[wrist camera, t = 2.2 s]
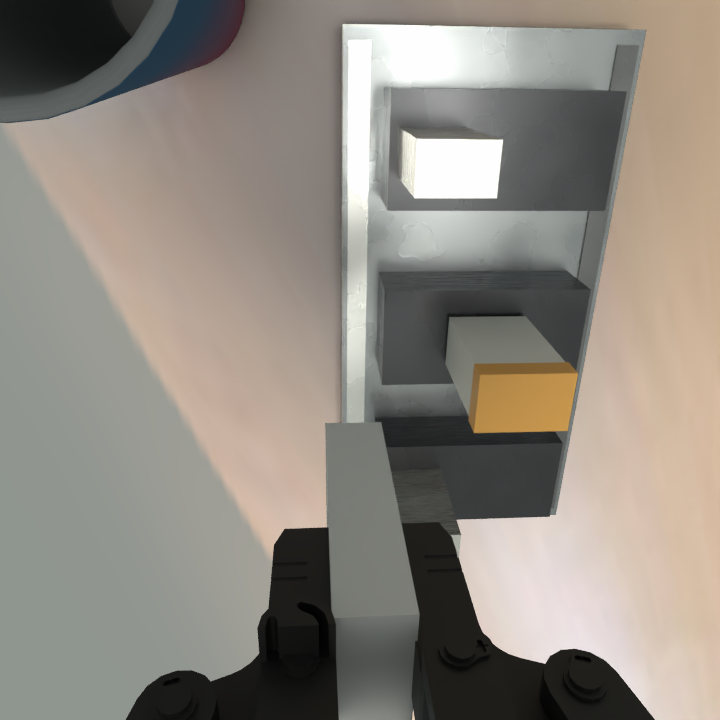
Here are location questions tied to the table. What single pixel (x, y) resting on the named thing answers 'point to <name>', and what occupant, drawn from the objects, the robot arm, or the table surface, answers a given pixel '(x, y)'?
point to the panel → (472, 236)
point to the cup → (102, 49)
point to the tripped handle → (509, 375)
